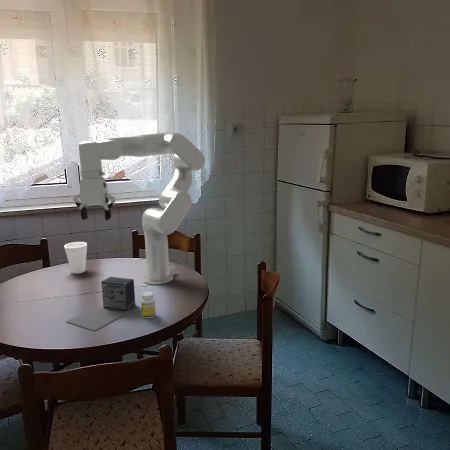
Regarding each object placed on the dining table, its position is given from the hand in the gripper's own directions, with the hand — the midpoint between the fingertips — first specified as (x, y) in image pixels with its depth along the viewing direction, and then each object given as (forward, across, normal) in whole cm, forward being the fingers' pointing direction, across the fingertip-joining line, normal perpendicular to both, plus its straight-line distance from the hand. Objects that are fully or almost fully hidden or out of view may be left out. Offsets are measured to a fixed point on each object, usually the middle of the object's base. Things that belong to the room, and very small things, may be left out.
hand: (96, 219), depth 169 cm
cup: (+31, +24, -23) cm, 46 cm away
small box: (+31, -11, +9) cm, 35 cm away
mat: (+31, -7, +21) cm, 38 cm away
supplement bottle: (+31, -25, +15) cm, 43 cm away
